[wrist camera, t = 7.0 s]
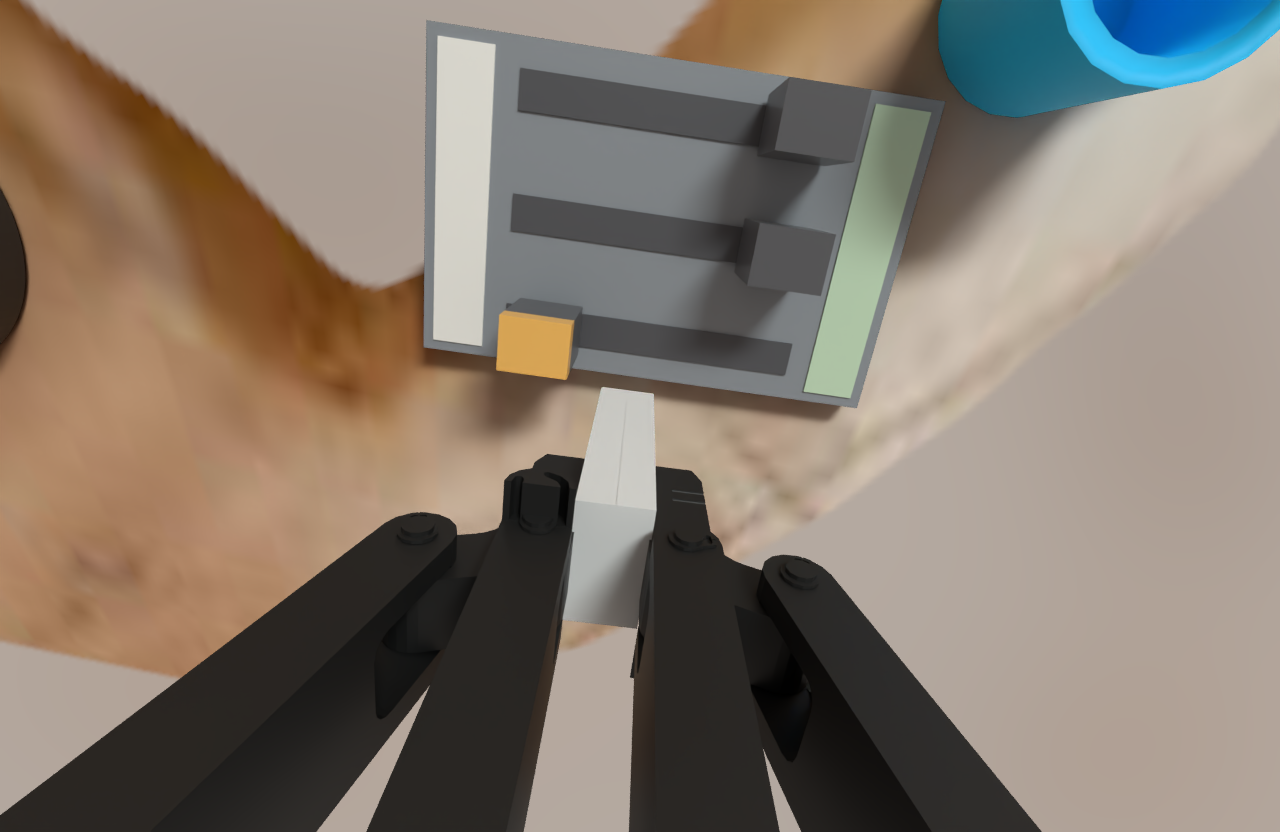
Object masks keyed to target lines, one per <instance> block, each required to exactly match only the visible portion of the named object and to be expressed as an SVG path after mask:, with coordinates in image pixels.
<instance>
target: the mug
mask: <svg viewBox="0 0 1280 832" xmlns="http://www.w3.org/2000/svg"><path fill="white" fill-rule="evenodd" d="M1279 29H1280V0H942V3H941V6H940V10H939V14H938V38H939V52H940V55H941V58H942V61H943V64H944V67H945V70H946V73H947V76H948V79H949V80H950V81H951V82H952V84H953V85H954V86H955V88H956V89H957V90H958V91H959V93H960V94H961V95H962V96H963V98H964V99H965V100H966V101H967V102H969V103H971V104H973V105H975V106H976V107H978V108H980V109H982V110H983V111H985V112H987V113H989V114H993V115H1000V116H1008V117H1015V118H1019V117H1024V116H1029V115H1034V114H1039V113H1044V112H1049V111H1054V110H1058V109H1063V108H1068V107H1073V106H1078V105H1083V104H1088V103H1093V102H1098V101H1103V100H1108V99H1113V98H1118V97H1123V96H1128V95H1133V94H1138V93H1143V92H1148V91H1153V90H1158V89H1163V88H1168V87H1173V86H1178V85H1182V84H1187V83H1192V82H1197V81H1202V80H1205V79H1207V78H1209V77H1211V76H1213V75H1215V74H1217V73H1219V72H1221V71H1223V70H1224V69H1226V68H1228V67H1230V66H1232V65H1234V64H1236V63H1238V62H1240V61H1242V60H1244V59H1246V58H1247V57H1249V56H1250V55H1251V54H1252V53H1253V52H1254V51H1255V50H1257V49H1258V48H1259V47H1260V46H1261V45H1262V44H1263V43H1265V42H1266V41H1267V40H1268V39H1269V38H1270V37H1271V36H1273V35H1274V34H1275V33H1276V32H1277V31H1278V30H1279Z"/></svg>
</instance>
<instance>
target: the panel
mask: <svg viewBox="0 0 1280 832" xmlns="http://www.w3.org/2000/svg"><path fill="white" fill-rule="evenodd" d="M426 23H427V24H426V136H425V137H426V141H425V144H426V145H425V148H426V149H425V250H424V251H425V252H424V254H425V255H424V257H425V258H424V347H426V348H433V349H440V350H447V351H454V352H461V353H468V354H475V355H483V356H490V357H497V347H498V328H499V314H501V313H502V312H503V311H504V310H506V309H507V308H508V307H509V306H511V305H512V304H513V303H514V302H516V301H517V300H518V299H519V298H526V299H533V300H540V301H547V302H554V303H561V304H568V305H575V306H582V307H583V311H582V321H581V330H580V340H579V349H578V356H577V358H576V360H575V362H574V364H573V367H572V368H575V369H582V370H589V371H596V372H603V373H610V374H617V375H625V376H632V377H639V378H646V379H653V380H660V381H667V382H674V383H681V384H689V385H696V386H703V387H710V388H717V389H724V390H731V391H738V392H745V393H752V394H760V395H767V396H774V397H781V398H788V399H795V400H802V401H809V402H816V403H824V404H831V405H838V406H845V407H852V408H857V406H858V402H859V399H860V395H861V392H862V389H863V385H864V382H865V378H866V375H867V371H868V368H869V364H870V361H871V357H872V354H873V351H874V347H875V344H876V340H877V337H878V333H879V330H880V326H881V323H882V319H883V316H884V313H885V309H886V306H887V302H888V299H889V295H890V292H891V288H892V285H893V281H894V278H895V275H896V271H897V268H898V264H899V261H900V257H901V254H902V250H903V247H904V243H905V240H906V237H907V233H908V230H909V226H910V223H911V219H912V216H913V212H914V209H915V205H916V202H917V199H918V195H919V192H920V188H921V185H922V181H923V178H924V174H925V171H926V167H927V164H928V161H929V157H930V154H931V150H932V147H933V143H934V140H935V136H936V133H937V129H938V126H939V123H940V119H941V116H942V112H943V109H944V105H945V102H946V101H940V100H934V99H927V98H921V97H914V96H908V95H902V94H895V93H889V92H882V91H876V90H872V92H871V96H870V100H869V104H868V108H867V112H866V116H865V121H864V125H863V129H862V133H861V137H860V141H859V145H858V149H857V153H856V157H855V161H854V162H852V163H845V164H838V165H831V166H819V165H812V164H806V163H799V162H793V161H786V160H780V159H773V158H766V157H760V156H757V153H758V147H759V142H760V137H761V132H762V127H763V122H764V116H765V111H766V106H767V101H768V96H769V94H770V93H771V92H772V91H773V90H775V89H776V88H777V87H778V86H779V85H780V84H782V83H783V82H784V81H785V80H786V79H788V78H789V77H786V76H780V75H774V74H767V73H761V72H754V71H748V70H742V69H735V68H729V67H723V66H716V65H710V64H703V63H697V62H691V61H684V60H678V59H671V58H665V57H659V56H652V55H646V54H639V53H633V52H627V51H619V50H614V49H607V48H601V47H594V46H588V45H582V44H575V43H569V42H562V41H556V40H550V39H543V38H537V37H531V36H524V35H517V34H511V33H505V32H499V31H492V30H486V29H479V28H472V27H466V26H460V25H454V24H447V23H441V22H435V21H428V20H427V21H426ZM745 219H752V220H759V221H765V222H772V223H779V224H786V225H792V226H799V227H806V228H812V229H816V230H820V231H824V232H828V233H832V234H836V237H835V241H834V245H833V249H832V253H831V257H830V262H829V266H828V270H827V274H826V278H825V282H824V286H823V290H822V294H821V296H816V295H809V294H802V293H795V292H788V291H782V290H775V289H768V288H761V287H754V286H747V285H746V284H745V283H744V282H743V281H742V280H741V279H740V278H739V276H738V275H737V274H736V273H735V266H736V261H737V256H738V251H739V246H740V241H741V235H742V230H743V225H744V220H745Z"/></svg>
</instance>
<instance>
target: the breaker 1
mask: <svg viewBox="0 0 1280 832" xmlns="http://www.w3.org/2000/svg"><path fill="white" fill-rule="evenodd" d="M871 92H872V90H870V89H864V88H858V87H851V86H845V85H838V84H832V83H826V82H819V81H813V80H806V79H800V78H794V77H789V78H788V79H786V80H785V81H784V82H783V83H782V84H780V85H779V86H778V87H777V88H776V89H775V90H773V91H772V92H771V93H770V94H769V96H768V101H767V106H766V111H765V116H764V122H763V127H762V132H761V137H760V142H759V147H758V153H757V156H760V157H766V158H773V159H780V160H786V161H793V162H799V163H806V164H812V165H819V166H831V165H838V164H845V163H852V162H854V161H855V157H856V153H857V149H858V145H859V141H860V137H861V133H862V129H863V125H864V121H865V116H866V112H867V108H868V104H869V100H870V96H871Z"/></svg>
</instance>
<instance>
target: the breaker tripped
mask: <svg viewBox="0 0 1280 832" xmlns="http://www.w3.org/2000/svg"><path fill="white" fill-rule="evenodd" d="M582 311H583V307H582V306H575V305H568V304H561V303H554V302H547V301H540V300H533V299H526V298H519V299H518V300H517V301H516V302H514V303H513V304H512V305H511V306H509V307H508V308H507V309H506V310H504V311H503V312H502V313H501V314H499V328H498V347H497V365H496V370H499V371H506V372H513V373H520V374H527V375H534V376H542V377H549V378H556V379H563V380H566V379H567V377H568V375H569V373H570V371H571V369H572V367H573V364H574V362H575V360H576V358H577V356H578V349H579V340H580V330H581V321H582Z"/></svg>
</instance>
